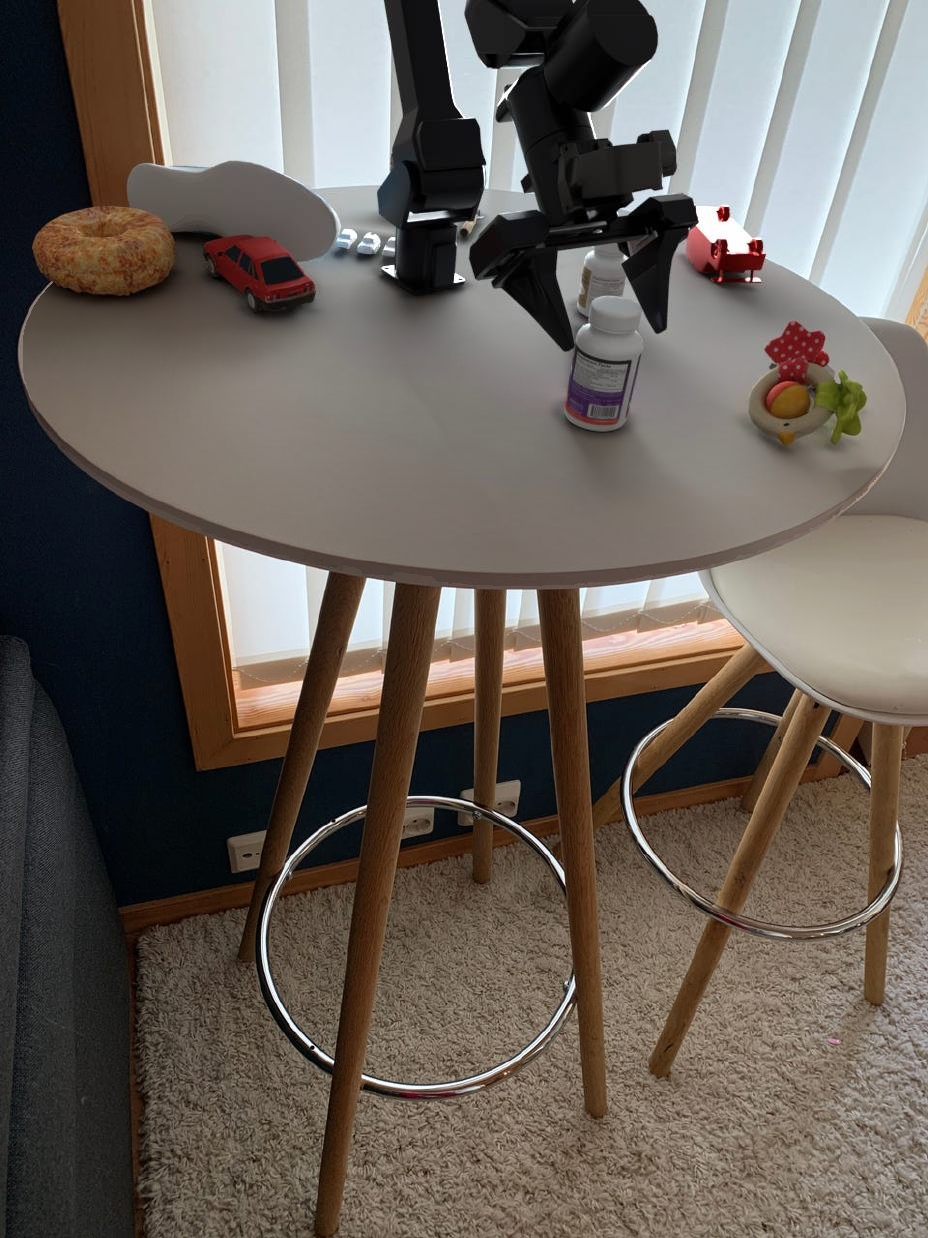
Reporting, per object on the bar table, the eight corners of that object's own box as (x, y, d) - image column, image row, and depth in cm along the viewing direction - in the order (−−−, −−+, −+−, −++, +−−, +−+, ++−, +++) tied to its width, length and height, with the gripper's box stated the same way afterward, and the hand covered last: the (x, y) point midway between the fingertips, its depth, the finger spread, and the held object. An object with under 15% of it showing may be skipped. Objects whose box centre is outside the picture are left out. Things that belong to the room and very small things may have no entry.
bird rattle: (797, 446, 74) (894, 378, 73) (711, 356, 78) (802, 292, 78) (795, 482, 79) (886, 419, 79) (716, 396, 84) (800, 336, 83)
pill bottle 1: (579, 299, 97) (592, 222, 92) (621, 306, 97) (636, 230, 91) (573, 315, 94) (586, 237, 89) (616, 323, 93) (632, 245, 88)
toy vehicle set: (310, 247, 101) (310, 229, 100) (321, 234, 104) (321, 218, 102) (418, 266, 100) (420, 249, 99) (426, 253, 103) (428, 236, 101)
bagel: (180, 241, 85) (191, 294, 88) (158, 192, 94) (169, 242, 98) (31, 263, 82) (48, 317, 85) (24, 210, 91) (40, 261, 94)
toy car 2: (723, 245, 99) (711, 290, 102) (772, 246, 100) (758, 290, 103) (680, 197, 109) (670, 240, 112) (724, 198, 110) (713, 240, 113)
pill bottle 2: (586, 394, 82) (607, 285, 75) (638, 418, 79) (664, 308, 73) (549, 415, 78) (568, 303, 72) (602, 440, 76) (627, 327, 70)
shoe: (330, 176, 90) (378, 167, 100) (120, 139, 95) (185, 134, 105) (326, 274, 95) (372, 256, 105) (126, 234, 99) (188, 221, 109)
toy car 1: (254, 254, 97) (249, 205, 93) (324, 311, 89) (323, 260, 86) (196, 266, 94) (189, 216, 90) (264, 326, 86) (259, 274, 83)
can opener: (458, 227, 106) (459, 238, 107) (478, 226, 106) (479, 236, 107) (466, 206, 113) (467, 216, 114) (485, 204, 113) (486, 214, 114)
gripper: (507, 90, 62) (576, 319, 62) (716, 80, 70) (775, 283, 70) (440, 177, 72) (499, 373, 72) (629, 159, 80) (681, 336, 80)
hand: (616, 340), depth 74 cm, fingers open, 9 cm apart
